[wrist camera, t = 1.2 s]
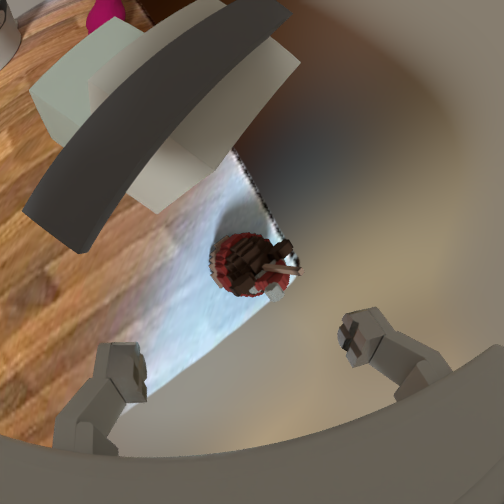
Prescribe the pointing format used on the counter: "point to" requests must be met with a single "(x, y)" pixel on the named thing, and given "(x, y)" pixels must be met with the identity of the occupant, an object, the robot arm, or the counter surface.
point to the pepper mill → (104, 13)
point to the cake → (252, 266)
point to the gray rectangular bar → (143, 120)
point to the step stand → (193, 125)
